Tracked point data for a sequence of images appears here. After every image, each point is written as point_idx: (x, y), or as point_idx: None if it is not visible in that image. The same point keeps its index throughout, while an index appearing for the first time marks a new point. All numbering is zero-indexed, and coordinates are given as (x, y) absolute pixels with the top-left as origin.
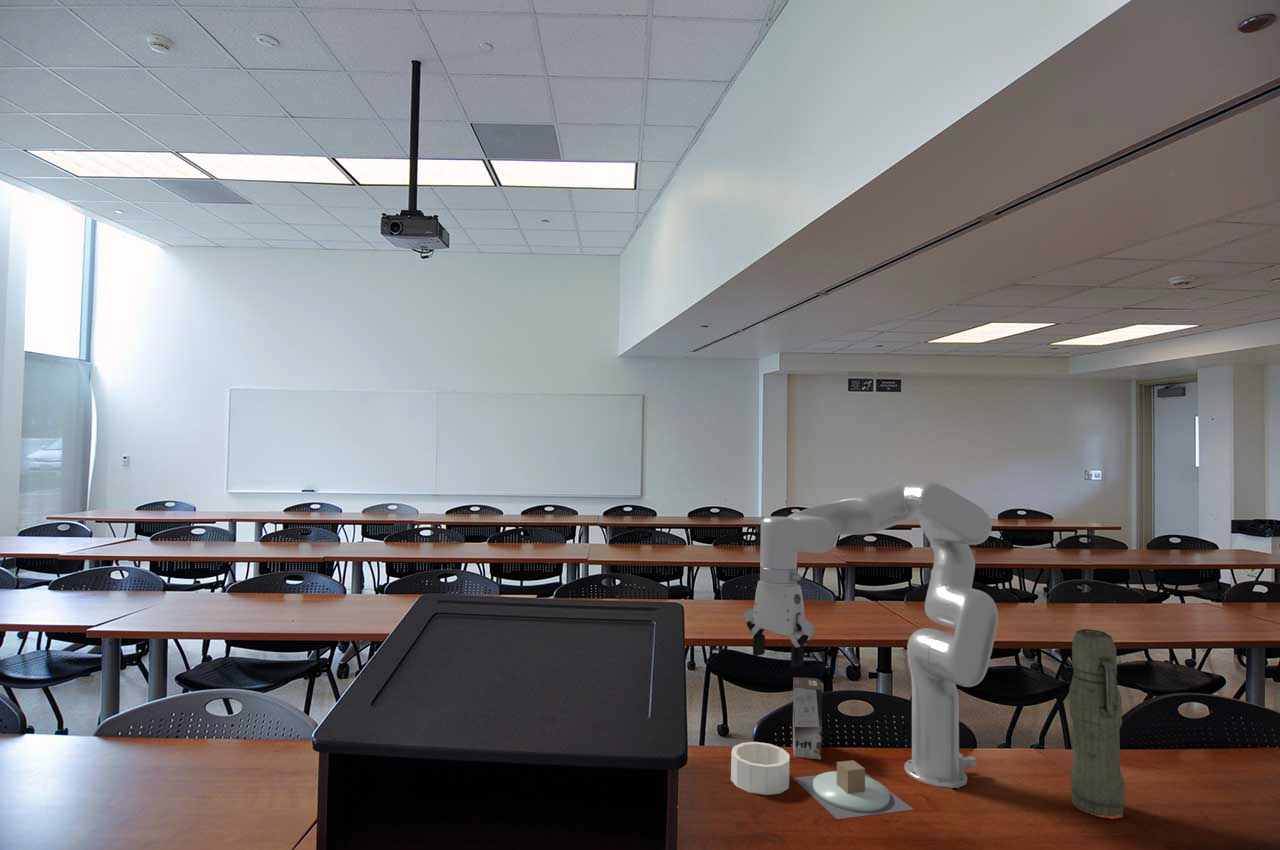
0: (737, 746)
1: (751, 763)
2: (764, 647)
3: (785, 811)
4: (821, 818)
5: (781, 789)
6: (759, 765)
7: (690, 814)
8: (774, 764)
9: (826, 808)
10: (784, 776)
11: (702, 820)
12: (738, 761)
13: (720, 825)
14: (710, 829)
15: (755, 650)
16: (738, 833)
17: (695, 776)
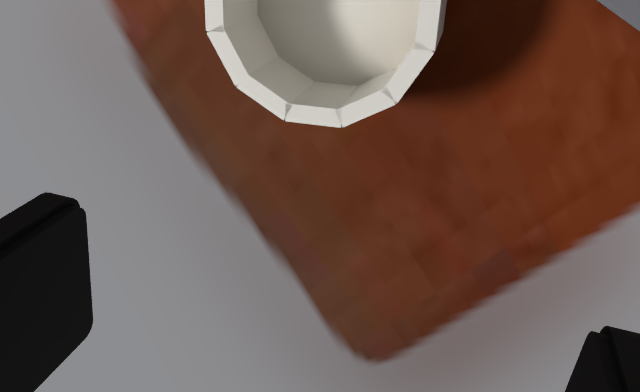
0: (213, 14)
1: (339, 115)
2: (38, 243)
3: (501, 114)
4: (624, 76)
5: (442, 27)
6: (370, 110)
7: (304, 288)
8: (410, 60)
9: (629, 20)
10: (442, 13)
11: (343, 295)
12: (290, 119)
13: (390, 290)
14: (381, 317)
15: (52, 361)
16: (446, 296)
17: (176, 106)
